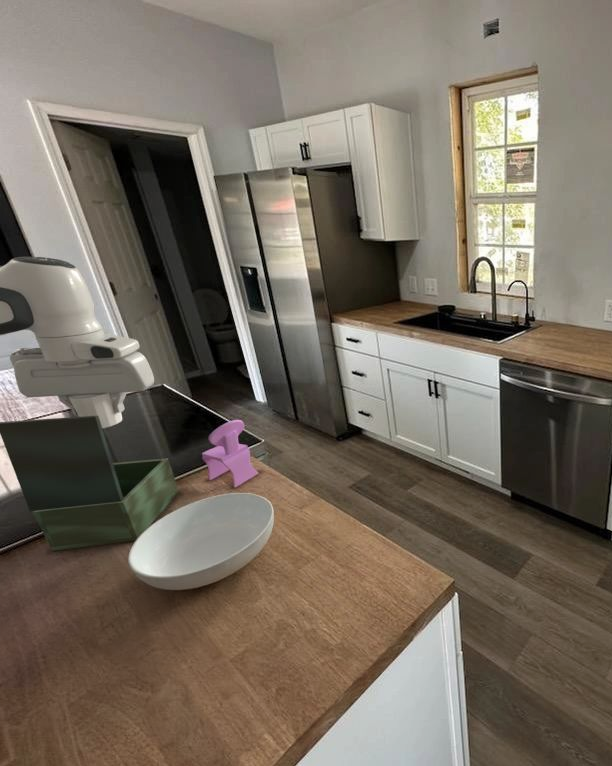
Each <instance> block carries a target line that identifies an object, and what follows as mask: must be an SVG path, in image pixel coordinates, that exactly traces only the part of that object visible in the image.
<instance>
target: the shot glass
mask: <svg viewBox="0 0 612 766" xmlns="http://www.w3.org/2000/svg"><path fill="white" fill-rule="evenodd" d="M68 398H69V399H70V401H71V403H72V405H73V407H74V408H75V410H76V412H77V414H78V415H77V417H83V416H99V419H100V423H101V426H102V429H106V428H110V427H113V426H115V425H118V424H119V423H121V422H122V421H123V415H122V412H121V413H114V411H113V407H112V405H113V404H114V401H115V398H116V397H115V398H112V396H111V394H110V393H102V394H83V395H68Z"/></svg>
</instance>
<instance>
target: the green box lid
mask: <svg viewBox="0 0 612 766" xmlns="http://www.w3.org/2000/svg"><path fill="white" fill-rule="evenodd" d="M0 437H1V440H2V442H3V445H4V448H5V450H6V453H7V456H8V457H9V461H10V463H11V466H12V469H13V472H14V474H15V477H16V479H17V482H18V485H19V486H20V489H21V492H22V494H23V497H24V500H25V502H26V505H27V508H28V510H29V512H34V511H37V510H46V509H56V508H65V507H75V506H84V505H93V504H103V503H112V502H121V501H122V500H124V498H123V495H122V492H121V489H120V485H119V482H118V479H117V475H116V472H115V469H114V466H113V463H114V462H113V460H112V459H113V458H112V456H111V452H110V449H109V446H108V443H107V440H106V435H105V433H104V428H102V426H101V423H100V419H99V416H83V417H79V416H72V417H71V416H70V417H69V416H68V417H55V418H39V419H26V420H25V419H24V420H10V421H0Z"/></svg>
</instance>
